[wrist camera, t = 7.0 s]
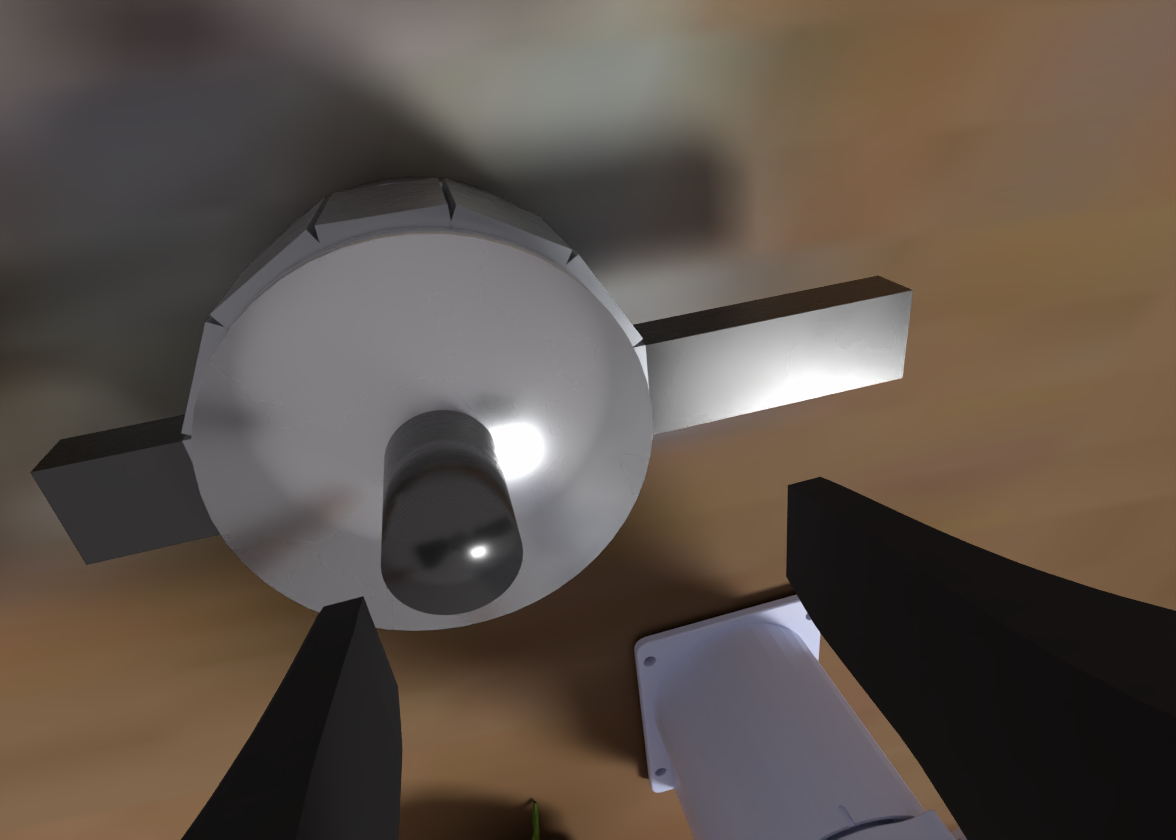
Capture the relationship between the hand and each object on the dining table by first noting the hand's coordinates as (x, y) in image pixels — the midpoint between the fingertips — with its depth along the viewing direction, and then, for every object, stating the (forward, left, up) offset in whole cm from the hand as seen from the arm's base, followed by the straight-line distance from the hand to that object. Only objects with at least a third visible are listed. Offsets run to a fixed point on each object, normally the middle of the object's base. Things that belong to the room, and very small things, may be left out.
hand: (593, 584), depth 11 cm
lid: (0, +2, -6) cm, 7 cm away
